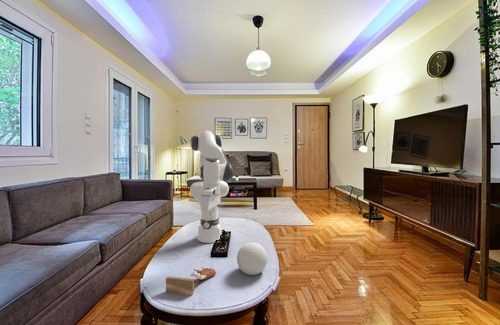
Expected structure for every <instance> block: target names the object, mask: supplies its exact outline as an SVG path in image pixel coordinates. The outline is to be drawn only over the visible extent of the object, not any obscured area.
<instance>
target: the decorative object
mask: <svg viewBox="0 0 500 325" xmlns="http://www.w3.org/2000/svg"><path fill="white" fill-rule="evenodd" d="M236 261H237V262H236V263H237V265H238V268H239V270H241V271H242V272H243V274H245V275H249V276H256V275H259V274H260V273H262V272H263V270H265V268H266V266H267V263H268V254H267V251H266V249H265V248H264V247H263V246H262V245H261V244H260V243H258V242H254V241H253V242H252V241H251V242H247V243H245V244H243V245H242V246H241V247H240V249H239V250H238V251H237V256H236Z"/></svg>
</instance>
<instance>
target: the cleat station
mask: <svg viewBox="0 0 500 325" xmlns="http://www.w3.org/2000/svg"><path fill="white" fill-rule="evenodd" d="M199 284H200V280H199V279H198V280H197V282H196V279H194V278H189V277H188V278H186V277H180V276H179V277H176V276H167V277H166V278H165V293H169V294H177V295H185V296H193V295H194V294H195V289H196V288H197V287H198V286H199Z"/></svg>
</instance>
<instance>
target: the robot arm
mask: <svg viewBox="0 0 500 325" xmlns="http://www.w3.org/2000/svg"><path fill="white" fill-rule="evenodd" d="M189 145H190V148H191V150H192V151H194V152H198V151H199V152H200V155H199V172H200V174H199V178H200V179H201V180H202V181H196V182H193V183H192V184H191V185H190V188H189V193H190V195H191V196H192V197H193V198H194V199H195V200H196V201H197V203H198V204H199V206H200V224H199V226H198V229H197V230H198V231H197V236H195V239H196V240H197V241H199V242H200V243H203V244H205V243H207V244H208V243H209V244H213V243H216V242H215V241H216V240H219V239H220V235H221V234H222V232H223V229H222V228H223V227H222V225H221V224H220V216H219V207H218V205H220V204H221V198H222V197H226V196H227V195H228V193H229V190H230V187H229V184H228V183H227V182H230V181H231V180H232V179H233V178H234V168H233V166H232V164H231V163H230V161H229V159H228V156H227V155H226V153H225V151H224V149H223V148H222V146H223V139H222V137H221V135H219V134H214V133H213V132H212V131H210V130H203V131H201V132H200V133H199V135H193V136H191V138H190V141H189Z"/></svg>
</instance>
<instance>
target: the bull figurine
mask: <svg viewBox="0 0 500 325" xmlns="http://www.w3.org/2000/svg"><path fill="white" fill-rule="evenodd" d="M216 274H217V272H216V270H215V268H211V267H205V266H201V270H200V269H197V268H194V270H193V272H192V273H191V275H190V276H191V277H195V280H196V282H197V280H198V279H199V281H203V280H207V279H209V278H212V277H214V276H215V275H216Z"/></svg>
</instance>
